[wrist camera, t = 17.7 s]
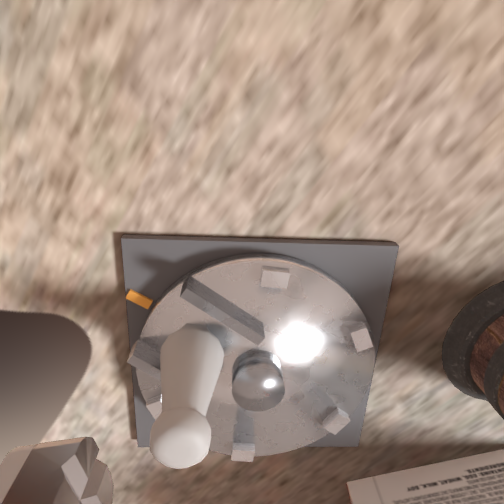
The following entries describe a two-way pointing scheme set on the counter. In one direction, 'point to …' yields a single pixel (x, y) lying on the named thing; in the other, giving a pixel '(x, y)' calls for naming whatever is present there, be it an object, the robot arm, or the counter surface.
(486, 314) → the tankard
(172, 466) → the salt shaker
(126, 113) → the counter surface
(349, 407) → the studded metal disc
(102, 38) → the counter surface
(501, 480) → the pasta box
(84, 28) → the counter surface
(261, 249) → the gray square base
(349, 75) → the counter surface
